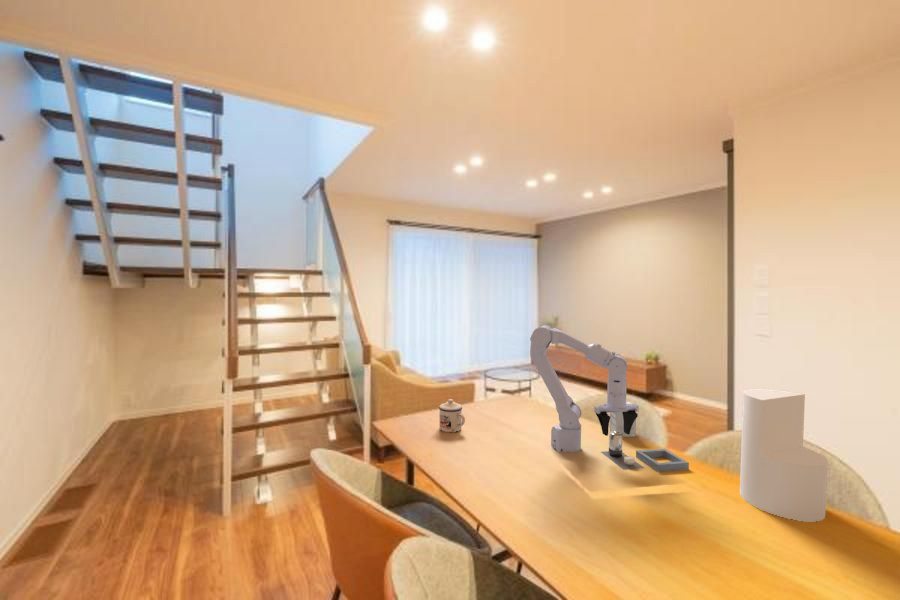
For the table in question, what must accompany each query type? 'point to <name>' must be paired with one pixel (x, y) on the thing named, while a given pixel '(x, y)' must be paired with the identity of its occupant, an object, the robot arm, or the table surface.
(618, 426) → the supplement box
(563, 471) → the table surface
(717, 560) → the table surface
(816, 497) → the white stepped block
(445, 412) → the teacup with lid
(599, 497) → the table surface
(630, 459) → the test button
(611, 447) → the battery cell
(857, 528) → the table surface
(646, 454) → the bin
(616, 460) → the base
